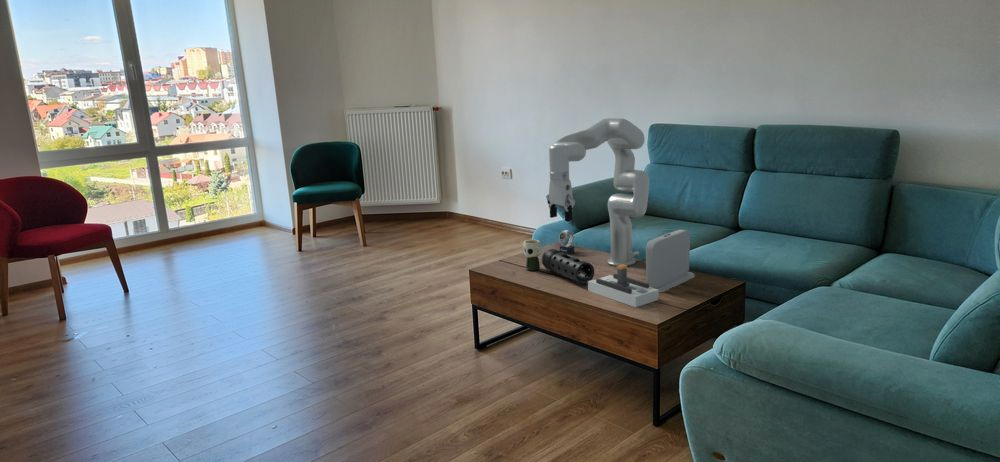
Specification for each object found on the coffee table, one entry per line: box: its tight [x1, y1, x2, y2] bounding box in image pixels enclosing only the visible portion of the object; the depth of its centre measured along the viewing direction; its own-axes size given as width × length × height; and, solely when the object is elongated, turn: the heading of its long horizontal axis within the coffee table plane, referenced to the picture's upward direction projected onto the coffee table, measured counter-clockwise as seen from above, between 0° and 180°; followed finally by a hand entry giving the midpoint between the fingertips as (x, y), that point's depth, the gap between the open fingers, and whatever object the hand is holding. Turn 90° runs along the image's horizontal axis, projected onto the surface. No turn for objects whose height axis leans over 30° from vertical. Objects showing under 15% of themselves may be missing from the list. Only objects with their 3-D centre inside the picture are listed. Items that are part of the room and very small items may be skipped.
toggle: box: [615, 264, 630, 287], centre depth 254 cm, size 4×4×8 cm
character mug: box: [522, 239, 542, 271], centre depth 295 cm, size 11×7×13 cm, turn 42°
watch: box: [557, 229, 575, 255], centre depth 320 cm, size 6×8×11 cm
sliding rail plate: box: [595, 273, 649, 294], centre depth 255 cm, size 10×18×2 cm, turn 34°
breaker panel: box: [587, 274, 659, 308], centre depth 256 cm, size 12×26×4 cm, turn 34°
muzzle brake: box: [541, 248, 595, 286], centre depth 281 cm, size 10×28×10 cm, turn 27°
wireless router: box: [645, 229, 696, 294], centre depth 267 cm, size 31×10×20 cm, turn 134°
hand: (560, 218), depth 263 cm, fingers open, 9 cm apart
